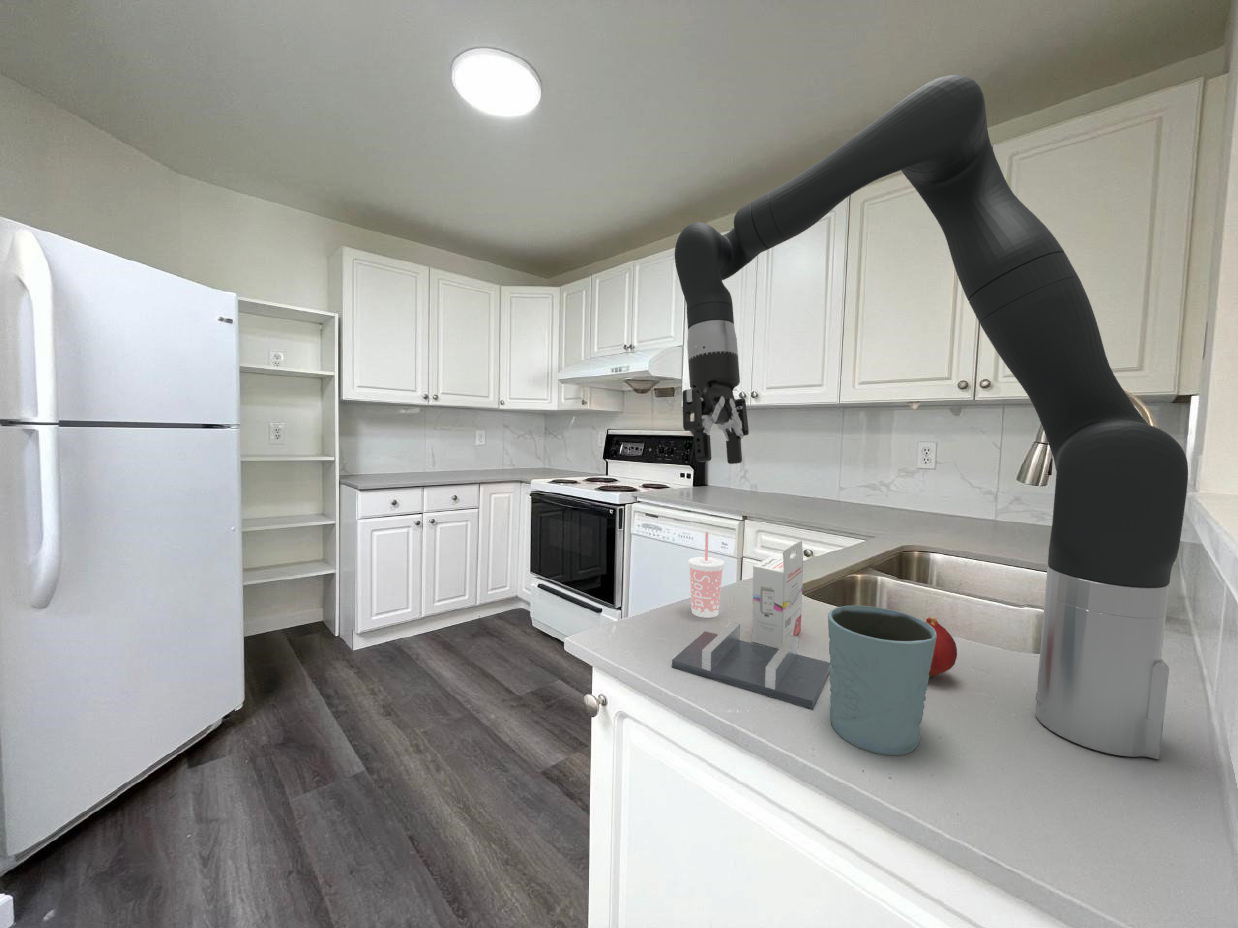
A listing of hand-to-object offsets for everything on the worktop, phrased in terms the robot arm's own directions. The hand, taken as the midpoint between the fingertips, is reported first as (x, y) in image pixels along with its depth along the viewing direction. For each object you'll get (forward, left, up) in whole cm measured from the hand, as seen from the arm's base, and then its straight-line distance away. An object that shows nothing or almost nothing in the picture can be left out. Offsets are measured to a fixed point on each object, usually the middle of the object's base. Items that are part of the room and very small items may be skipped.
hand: (720, 462), depth 76 cm
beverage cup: (+5, -7, -27) cm, 28 cm away
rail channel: (-8, +8, -27) cm, 29 cm away
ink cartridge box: (-8, -4, -27) cm, 28 cm away
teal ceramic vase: (-24, +13, -27) cm, 38 cm away
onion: (-28, -3, -27) cm, 39 cm away
